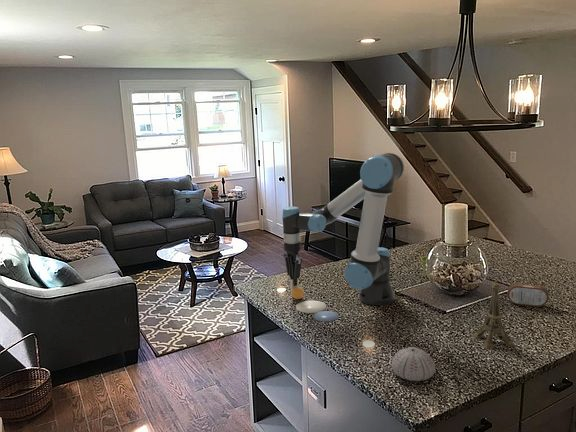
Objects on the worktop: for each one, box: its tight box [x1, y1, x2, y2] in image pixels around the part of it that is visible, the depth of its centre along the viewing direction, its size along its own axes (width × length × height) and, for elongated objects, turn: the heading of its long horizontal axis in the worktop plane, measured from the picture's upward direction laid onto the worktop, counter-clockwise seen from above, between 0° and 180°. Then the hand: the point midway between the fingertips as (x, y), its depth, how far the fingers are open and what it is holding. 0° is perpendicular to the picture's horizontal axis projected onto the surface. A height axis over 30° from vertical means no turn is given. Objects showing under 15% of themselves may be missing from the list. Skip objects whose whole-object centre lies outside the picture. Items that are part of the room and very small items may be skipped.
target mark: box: [295, 300, 327, 314], centre depth 203 cm, size 13×13×1 cm
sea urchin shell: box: [390, 346, 436, 382], centre depth 147 cm, size 13×14×8 cm
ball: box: [290, 286, 305, 300], centre depth 212 cm, size 6×6×6 cm
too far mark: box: [313, 310, 339, 323], centre depth 192 cm, size 10×10×1 cm
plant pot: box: [420, 255, 428, 277], centre depth 231 cm, size 9×9×9 cm
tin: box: [506, 283, 549, 307], centre depth 192 cm, size 15×3×8 cm, turn 65°
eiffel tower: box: [471, 278, 517, 350], centre depth 163 cm, size 11×11×25 cm
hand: (294, 291), depth 215 cm, fingers closed
